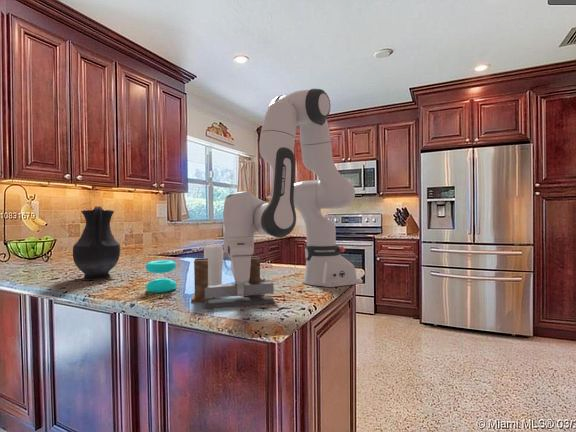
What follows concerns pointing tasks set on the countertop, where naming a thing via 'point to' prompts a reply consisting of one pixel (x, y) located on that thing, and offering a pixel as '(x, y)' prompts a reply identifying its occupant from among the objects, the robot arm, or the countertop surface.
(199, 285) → the post
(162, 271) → the donuts
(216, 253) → the drinking glass
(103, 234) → the pitcher
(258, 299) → the grey flat bar
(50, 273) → the countertop surface
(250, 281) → the post
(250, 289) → the rail
